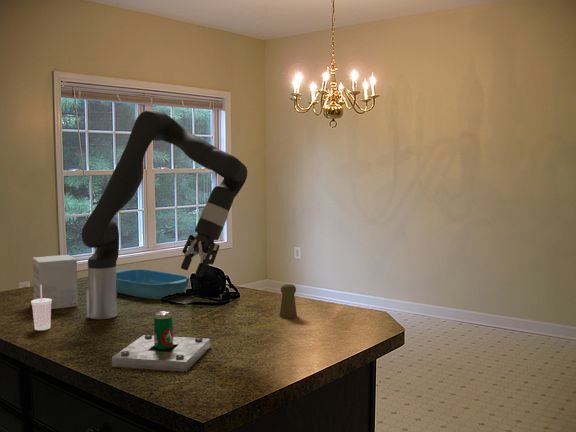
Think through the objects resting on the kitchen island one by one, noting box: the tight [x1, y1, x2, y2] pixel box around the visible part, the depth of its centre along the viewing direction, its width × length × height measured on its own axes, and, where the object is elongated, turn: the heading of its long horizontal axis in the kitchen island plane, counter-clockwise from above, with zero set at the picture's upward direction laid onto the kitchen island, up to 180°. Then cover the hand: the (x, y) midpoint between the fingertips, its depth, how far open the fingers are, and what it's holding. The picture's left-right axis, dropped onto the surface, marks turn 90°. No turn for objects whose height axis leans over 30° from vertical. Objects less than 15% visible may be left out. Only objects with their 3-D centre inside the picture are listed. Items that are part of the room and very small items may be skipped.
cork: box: [279, 283, 298, 319], centre depth 203 cm, size 6×6×11 cm
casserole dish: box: [116, 268, 191, 300], centre depth 240 cm, size 37×22×7 cm, turn 57°
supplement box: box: [32, 254, 79, 310], centre depth 218 cm, size 13×13×18 cm
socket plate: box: [111, 334, 211, 372], centre depth 161 cm, size 20×20×3 cm
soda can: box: [153, 310, 174, 352], centre depth 161 cm, size 5×5×12 cm
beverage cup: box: [30, 285, 52, 331], centre depth 187 cm, size 6×6×14 cm
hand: (190, 272), depth 173 cm, fingers open, 8 cm apart
